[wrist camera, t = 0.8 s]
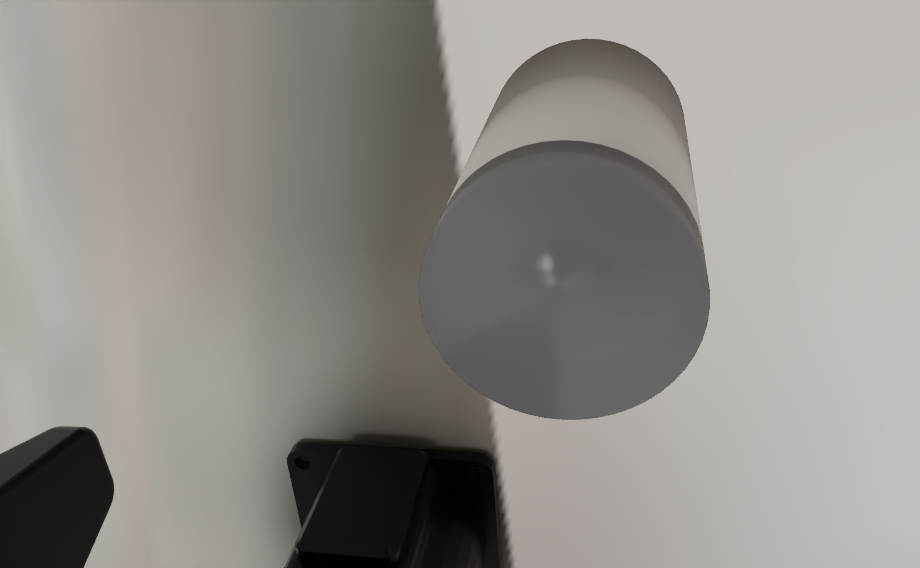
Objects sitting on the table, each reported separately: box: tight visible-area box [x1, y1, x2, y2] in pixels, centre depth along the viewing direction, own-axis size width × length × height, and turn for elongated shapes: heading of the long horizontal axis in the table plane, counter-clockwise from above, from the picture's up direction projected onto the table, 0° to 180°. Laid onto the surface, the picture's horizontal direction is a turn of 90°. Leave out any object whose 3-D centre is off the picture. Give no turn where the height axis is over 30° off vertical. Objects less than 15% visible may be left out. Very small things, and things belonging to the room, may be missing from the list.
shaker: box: [419, 39, 710, 420], centre depth 17 cm, size 5×5×8 cm
